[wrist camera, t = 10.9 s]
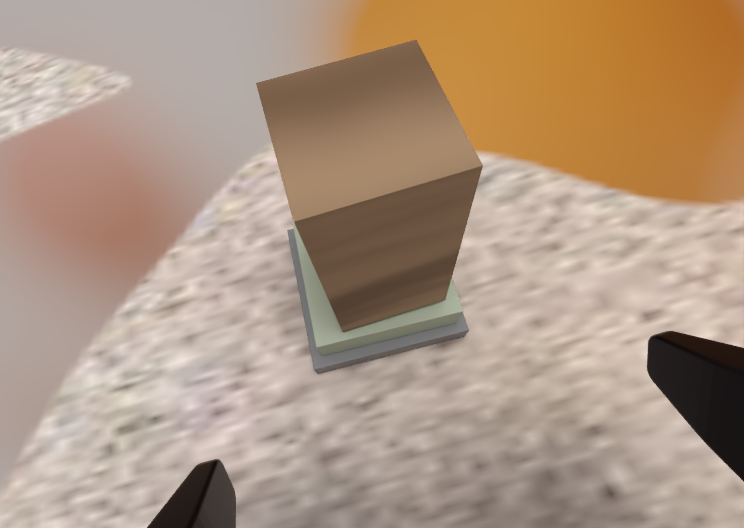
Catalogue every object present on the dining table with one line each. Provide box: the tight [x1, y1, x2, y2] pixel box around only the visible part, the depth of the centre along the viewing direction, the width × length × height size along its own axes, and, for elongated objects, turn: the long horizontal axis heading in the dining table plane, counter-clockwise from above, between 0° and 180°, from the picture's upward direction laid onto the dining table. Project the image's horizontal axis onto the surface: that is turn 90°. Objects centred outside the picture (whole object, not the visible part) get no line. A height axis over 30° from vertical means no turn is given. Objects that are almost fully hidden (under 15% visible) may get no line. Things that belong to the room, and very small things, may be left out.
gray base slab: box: [287, 229, 469, 374], centre depth 24 cm, size 8×8×2 cm
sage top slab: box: [292, 217, 463, 356], centre depth 22 cm, size 7×7×2 cm
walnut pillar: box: [256, 40, 483, 332], centre depth 16 cm, size 5×5×10 cm
